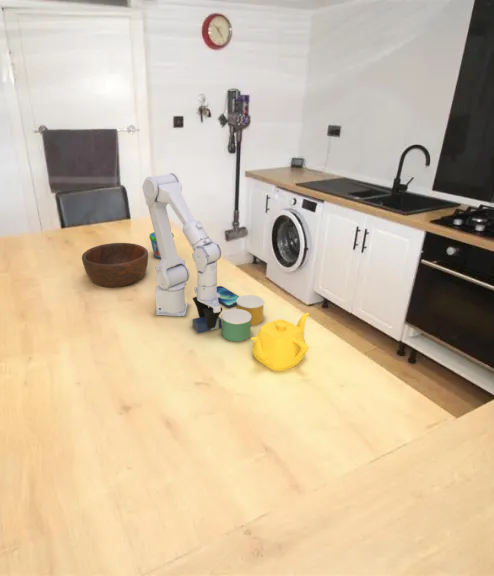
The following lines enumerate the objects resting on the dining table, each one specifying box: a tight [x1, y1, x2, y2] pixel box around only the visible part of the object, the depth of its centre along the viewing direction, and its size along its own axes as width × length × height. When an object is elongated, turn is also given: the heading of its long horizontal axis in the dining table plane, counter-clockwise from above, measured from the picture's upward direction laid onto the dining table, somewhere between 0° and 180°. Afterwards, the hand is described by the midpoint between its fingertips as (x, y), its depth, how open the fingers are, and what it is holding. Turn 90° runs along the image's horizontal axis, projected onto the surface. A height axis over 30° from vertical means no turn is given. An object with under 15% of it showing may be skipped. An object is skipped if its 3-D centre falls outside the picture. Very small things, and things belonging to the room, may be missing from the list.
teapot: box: [250, 312, 310, 372], centre depth 109 cm, size 22×16×11 cm
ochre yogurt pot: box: [236, 294, 265, 326], centre depth 130 cm, size 9×9×6 cm
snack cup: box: [148, 231, 175, 259], centre depth 181 cm, size 16×10×10 cm
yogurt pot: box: [221, 308, 251, 343], centre depth 122 cm, size 9×9×6 cm
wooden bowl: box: [81, 242, 149, 288], centre depth 159 cm, size 25×25×10 cm
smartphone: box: [217, 285, 240, 308], centre depth 145 cm, size 8×1×15 cm
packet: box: [192, 316, 222, 334], centre depth 126 cm, size 8×4×3 cm, turn 114°
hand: (207, 323), depth 126 cm, fingers open, 6 cm apart
